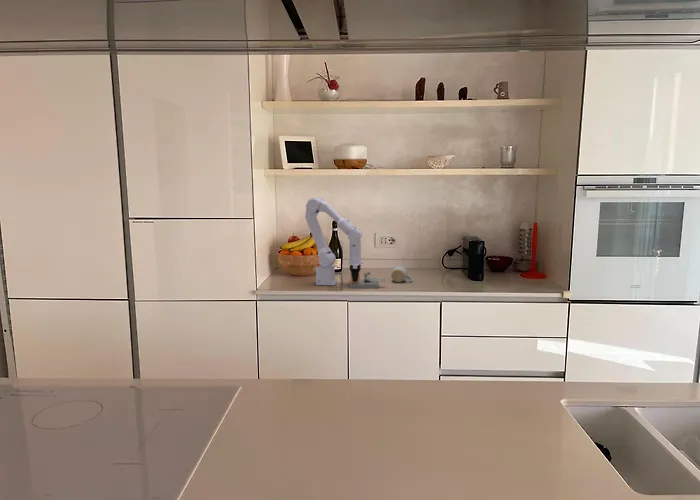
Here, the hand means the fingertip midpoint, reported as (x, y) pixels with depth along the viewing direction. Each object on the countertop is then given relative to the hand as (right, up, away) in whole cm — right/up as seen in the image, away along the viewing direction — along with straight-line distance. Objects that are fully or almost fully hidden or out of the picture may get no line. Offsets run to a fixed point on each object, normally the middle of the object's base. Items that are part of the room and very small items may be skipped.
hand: (355, 280), depth 256 cm
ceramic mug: (+24, -1, +10) cm, 26 cm away
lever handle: (+9, -1, -2) cm, 10 cm away
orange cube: (0, -1, 0) cm, 0 cm away
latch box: (+5, -3, -1) cm, 5 cm away
